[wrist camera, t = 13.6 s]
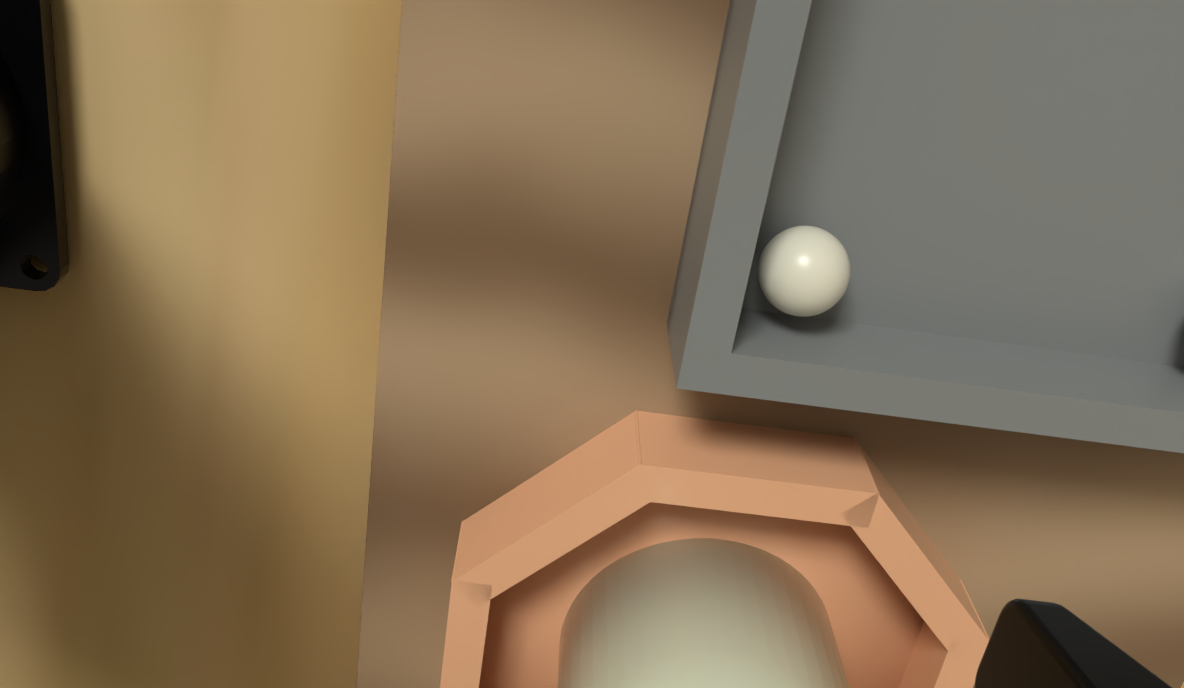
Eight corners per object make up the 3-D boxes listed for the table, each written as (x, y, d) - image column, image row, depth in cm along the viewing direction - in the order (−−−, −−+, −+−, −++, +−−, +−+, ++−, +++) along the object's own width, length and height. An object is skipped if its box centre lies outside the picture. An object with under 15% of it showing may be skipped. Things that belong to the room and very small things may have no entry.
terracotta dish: (476, 389, 22) (466, 442, 20) (1007, 456, 23) (1043, 513, 21) (431, 780, 27) (421, 851, 25) (870, 825, 27) (890, 896, 26)
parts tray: (810, -412, 16) (850, -450, 14) (1574, -275, 17) (1735, -287, 14) (666, 323, 21) (676, 388, 19) (1252, 400, 22) (1331, 472, 20)
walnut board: (458, -680, 15) (449, -710, 14) (1702, -441, 17) (1765, -454, 16) (355, 782, 28) (347, 814, 27) (1062, 853, 29) (1077, 886, 28)
